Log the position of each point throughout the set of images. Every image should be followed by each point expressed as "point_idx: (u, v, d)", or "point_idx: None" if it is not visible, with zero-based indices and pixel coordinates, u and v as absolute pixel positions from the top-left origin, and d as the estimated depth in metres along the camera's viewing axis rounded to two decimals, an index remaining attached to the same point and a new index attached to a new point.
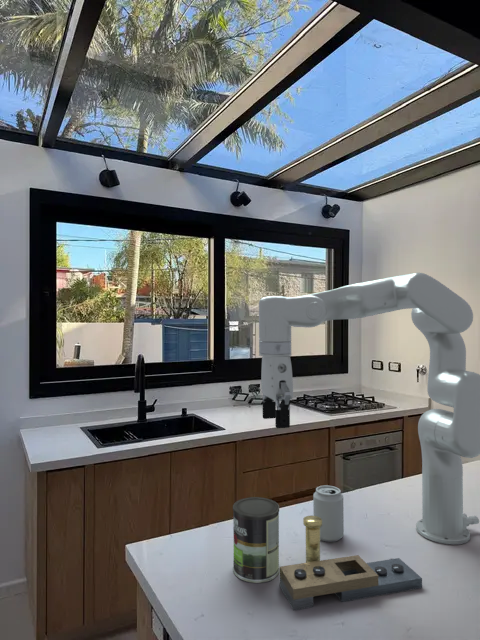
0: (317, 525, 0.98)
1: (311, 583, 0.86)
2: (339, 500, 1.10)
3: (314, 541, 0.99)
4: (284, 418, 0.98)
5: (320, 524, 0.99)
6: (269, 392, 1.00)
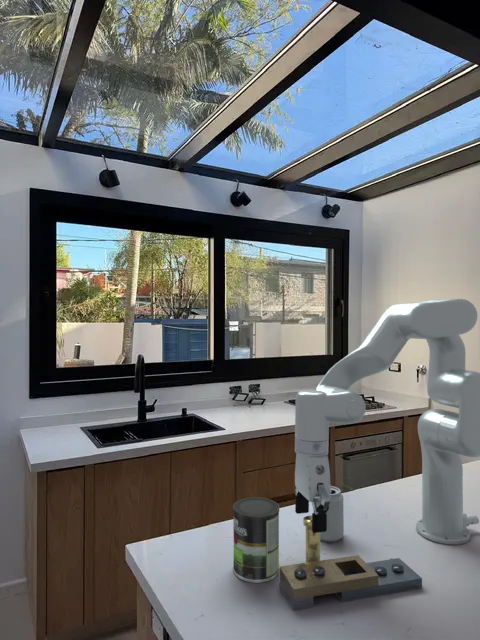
0: None
1: (311, 583, 0.86)
2: (339, 500, 1.10)
3: (314, 541, 0.99)
4: (321, 523, 0.94)
5: None
6: (306, 493, 0.97)
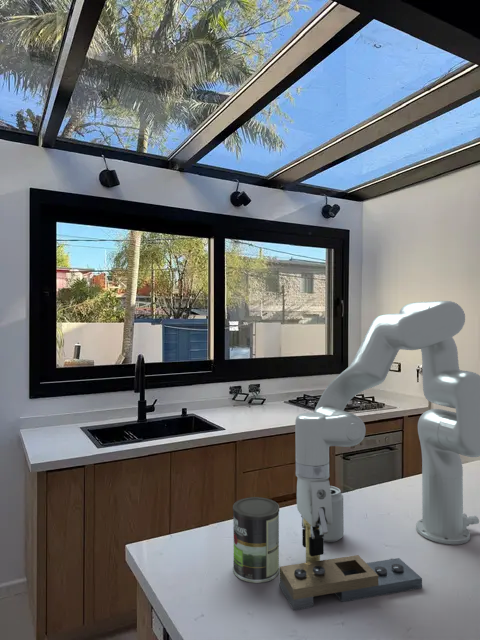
0: None
1: (311, 583, 0.86)
2: (339, 500, 1.10)
3: None
4: (318, 546, 0.97)
5: None
6: (308, 517, 0.97)
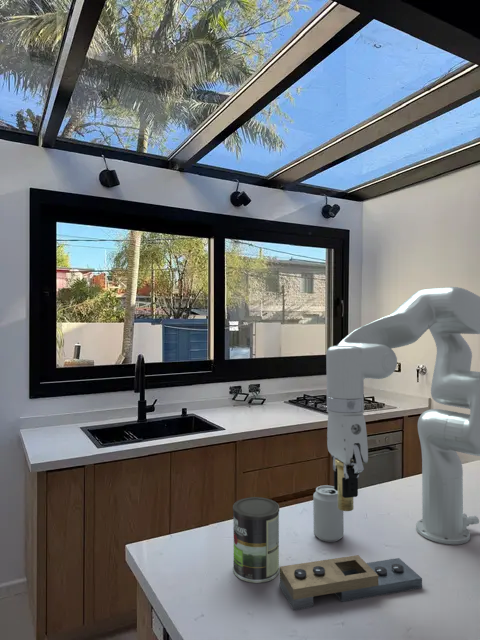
0: None
1: (311, 583, 0.86)
2: None
3: None
4: (352, 487, 0.89)
5: None
6: (341, 455, 0.89)
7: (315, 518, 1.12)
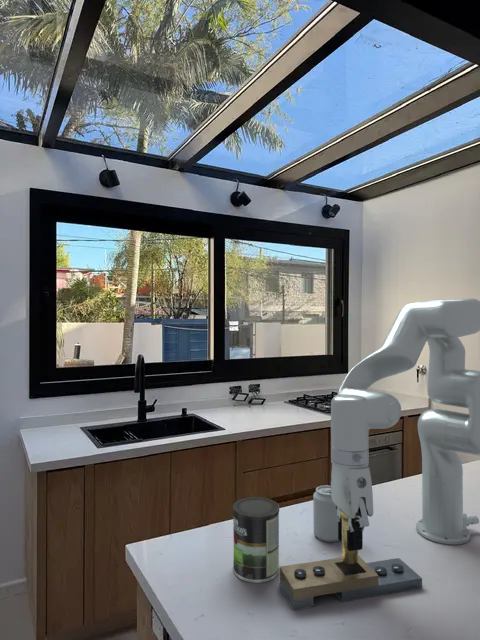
0: None
1: (311, 583, 0.86)
2: None
3: None
4: (357, 540, 0.89)
5: None
6: (346, 508, 0.88)
7: (315, 518, 1.12)
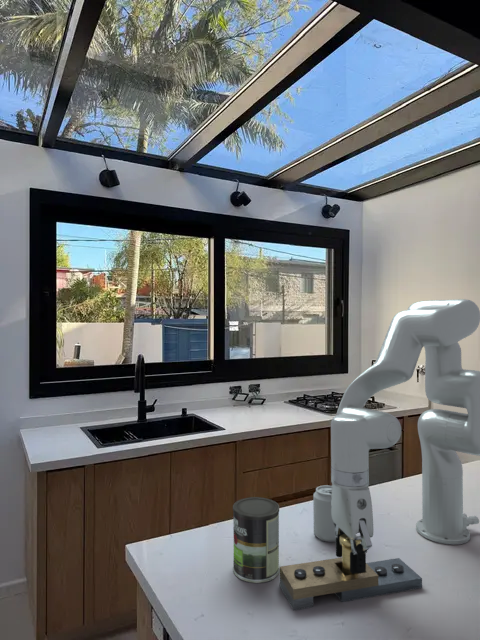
0: (356, 545, 0.89)
1: (311, 583, 0.86)
2: None
3: None
4: (360, 563, 0.87)
5: None
6: (346, 529, 0.88)
7: (315, 518, 1.12)
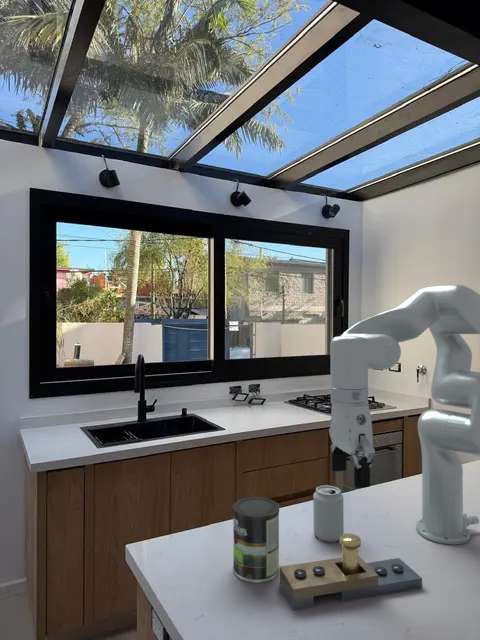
0: (356, 545, 0.89)
1: (311, 583, 0.86)
2: (339, 500, 1.10)
3: (353, 562, 0.90)
4: (365, 477, 0.86)
5: (359, 544, 0.90)
6: (346, 446, 0.89)
7: (315, 518, 1.12)
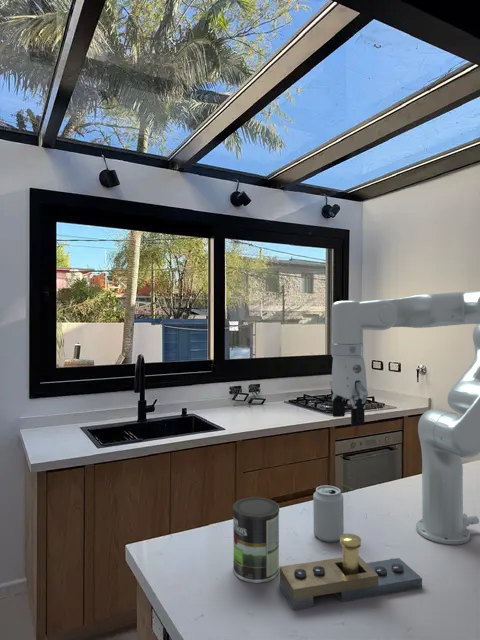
0: (356, 545, 0.89)
1: (311, 583, 0.86)
2: (339, 500, 1.10)
3: (353, 562, 0.90)
4: (360, 416, 1.03)
5: (359, 544, 0.90)
6: (344, 392, 1.06)
7: (315, 518, 1.12)
